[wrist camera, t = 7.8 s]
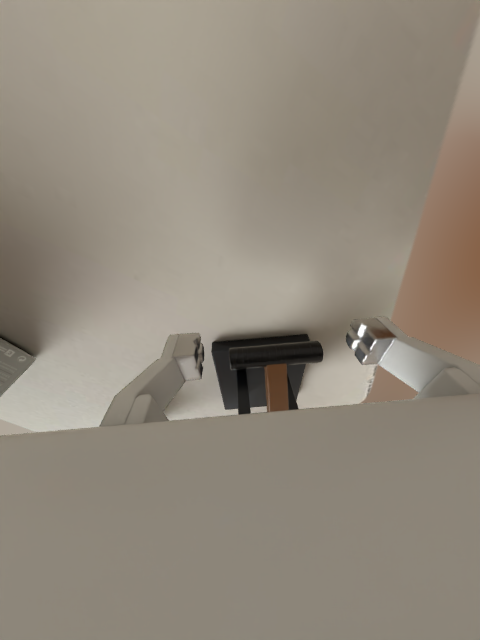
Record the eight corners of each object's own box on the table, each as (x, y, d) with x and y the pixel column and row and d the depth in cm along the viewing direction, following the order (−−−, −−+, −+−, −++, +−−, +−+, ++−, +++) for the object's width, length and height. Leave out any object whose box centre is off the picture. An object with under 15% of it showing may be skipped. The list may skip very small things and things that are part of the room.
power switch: (229, 342, 11) (228, 356, 9) (309, 335, 11) (329, 347, 9) (245, 513, 13) (248, 561, 11) (313, 507, 13) (330, 553, 11)
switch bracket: (212, 342, 17) (191, 577, 7) (307, 333, 17) (420, 555, 7) (225, 400, 24) (224, 562, 14) (293, 394, 24) (340, 551, 14)
